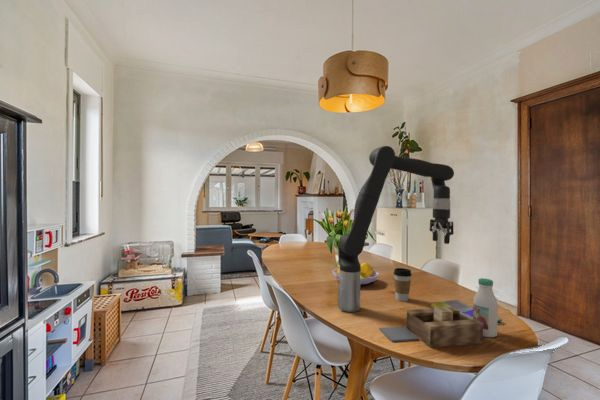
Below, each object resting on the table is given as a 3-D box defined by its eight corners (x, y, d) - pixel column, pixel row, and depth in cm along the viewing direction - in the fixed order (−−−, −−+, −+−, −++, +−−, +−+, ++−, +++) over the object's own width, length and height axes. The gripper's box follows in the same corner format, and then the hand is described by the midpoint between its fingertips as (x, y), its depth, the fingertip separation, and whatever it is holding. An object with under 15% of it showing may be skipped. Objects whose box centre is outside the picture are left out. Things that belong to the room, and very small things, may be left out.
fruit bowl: (381, 290, 162) (381, 269, 162) (330, 287, 166) (331, 266, 166) (376, 276, 189) (376, 258, 189) (333, 274, 194) (333, 256, 194)
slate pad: (391, 342, 103) (391, 340, 103) (379, 329, 113) (379, 327, 113) (418, 340, 105) (418, 338, 105) (403, 327, 115) (403, 326, 115)
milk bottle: (488, 328, 115) (489, 277, 115) (502, 338, 108) (503, 282, 107) (468, 328, 115) (469, 276, 115) (481, 338, 107) (482, 282, 107)
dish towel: (468, 329, 115) (468, 322, 115) (427, 306, 139) (427, 301, 139) (505, 326, 119) (505, 319, 119) (459, 304, 143) (459, 298, 143)
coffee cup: (399, 303, 142) (400, 271, 142) (389, 297, 150) (390, 267, 150) (414, 301, 144) (415, 270, 144) (404, 295, 153) (404, 266, 152)
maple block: (441, 331, 106) (441, 312, 106) (433, 326, 111) (433, 307, 111) (452, 330, 107) (452, 311, 107) (444, 325, 112) (444, 306, 112)
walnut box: (430, 347, 100) (430, 326, 100) (406, 328, 115) (407, 310, 115) (482, 343, 103) (483, 323, 103) (453, 324, 118) (453, 307, 118)
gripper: (425, 207, 148) (424, 240, 148) (444, 208, 134) (443, 244, 134) (438, 207, 149) (438, 240, 150) (459, 208, 135) (458, 244, 136)
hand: (440, 242), depth 142 cm, fingers open, 8 cm apart
